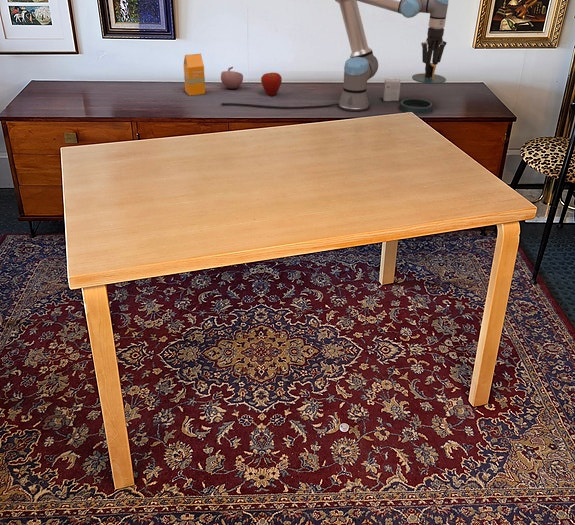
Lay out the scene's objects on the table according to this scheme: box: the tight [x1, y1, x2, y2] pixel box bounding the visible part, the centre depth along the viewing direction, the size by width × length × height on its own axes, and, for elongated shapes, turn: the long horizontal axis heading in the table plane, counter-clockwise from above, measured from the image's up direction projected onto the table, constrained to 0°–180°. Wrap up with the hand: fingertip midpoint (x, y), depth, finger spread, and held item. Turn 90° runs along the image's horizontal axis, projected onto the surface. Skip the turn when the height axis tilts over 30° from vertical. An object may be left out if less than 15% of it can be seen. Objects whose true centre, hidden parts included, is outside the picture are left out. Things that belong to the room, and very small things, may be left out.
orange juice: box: [183, 53, 206, 96], centre depth 333 cm, size 8×9×20 cm
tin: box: [399, 98, 433, 114], centre depth 320 cm, size 16×16×3 cm
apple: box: [260, 72, 283, 97], centre depth 334 cm, size 11×11×12 cm
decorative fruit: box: [220, 66, 244, 90], centre depth 343 cm, size 12×12×11 cm
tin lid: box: [411, 62, 447, 85], centre depth 312 cm, size 17×17×8 cm
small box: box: [382, 78, 401, 102], centre depth 331 cm, size 8×6×10 cm
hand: (429, 77), depth 313 cm, fingers closed on tin lid
